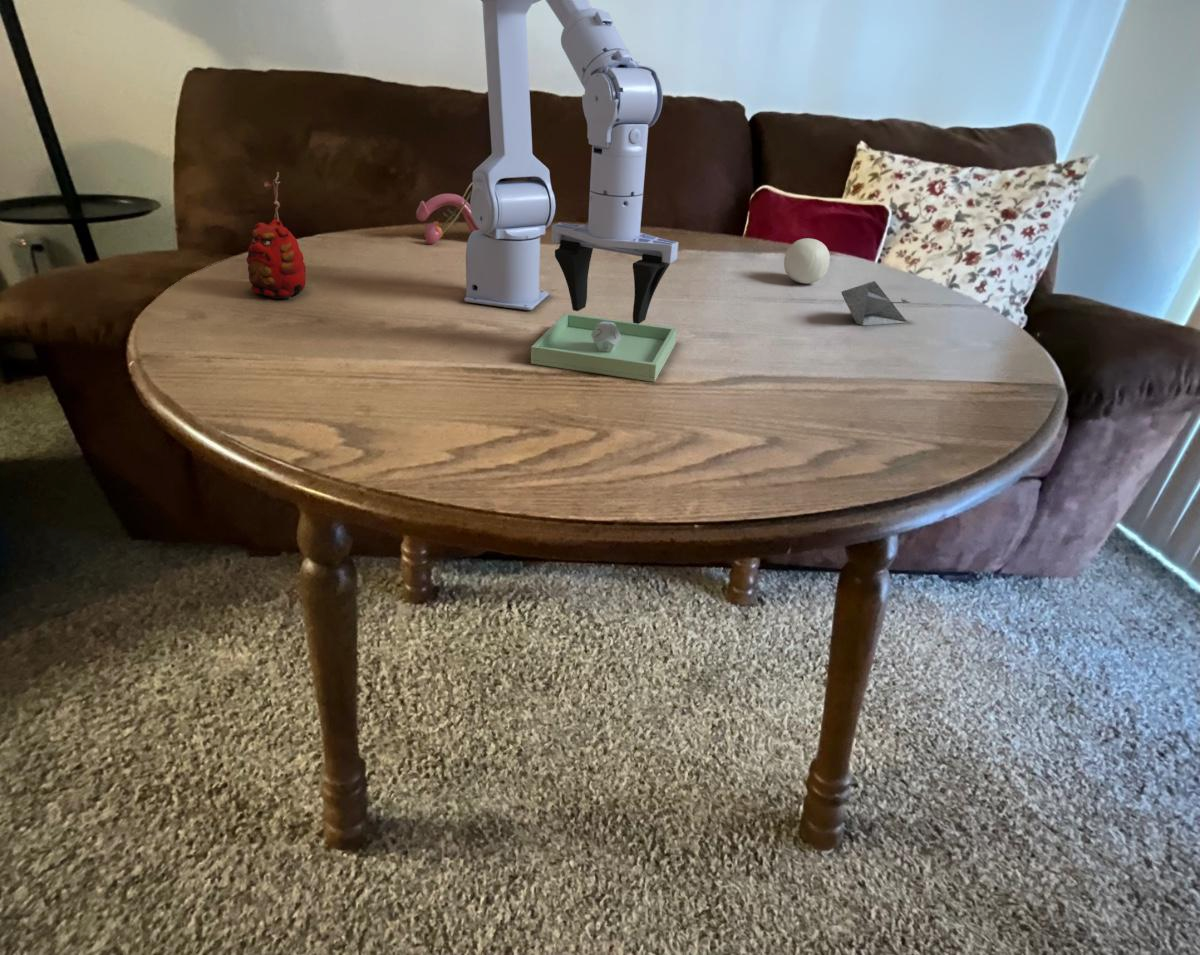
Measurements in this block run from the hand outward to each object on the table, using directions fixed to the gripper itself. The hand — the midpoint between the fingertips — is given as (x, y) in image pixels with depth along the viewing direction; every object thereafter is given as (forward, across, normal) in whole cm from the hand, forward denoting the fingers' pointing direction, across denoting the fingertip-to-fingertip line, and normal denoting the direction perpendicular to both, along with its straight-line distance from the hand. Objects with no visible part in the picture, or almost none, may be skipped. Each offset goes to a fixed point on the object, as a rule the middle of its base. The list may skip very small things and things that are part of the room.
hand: (608, 314), depth 97 cm
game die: (+4, 0, 0) cm, 4 cm away
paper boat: (+5, -25, -31) cm, 40 cm away
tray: (+5, 0, 0) cm, 5 cm away
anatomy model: (+5, +43, -35) cm, 56 cm away
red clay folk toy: (+5, +46, +4) cm, 47 cm away
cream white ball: (+5, -12, -46) cm, 48 cm away
